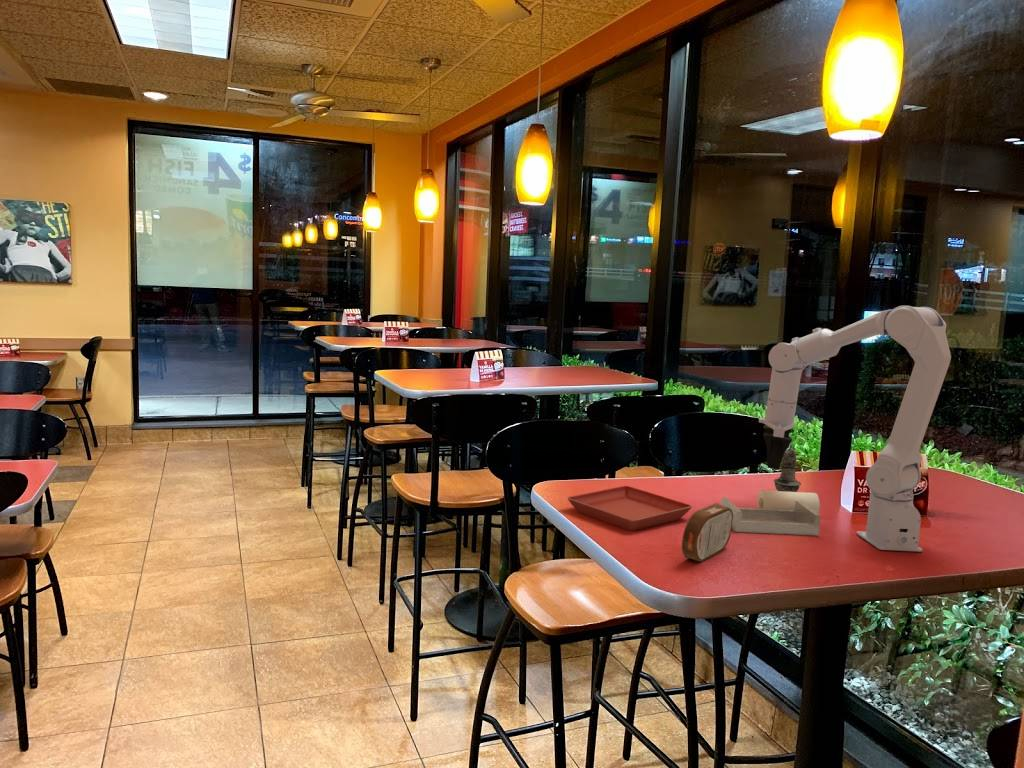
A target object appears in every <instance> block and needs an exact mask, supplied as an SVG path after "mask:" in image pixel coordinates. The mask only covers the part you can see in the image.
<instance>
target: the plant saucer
mask: <svg viewBox="0 0 1024 768" xmlns="http://www.w3.org/2000/svg"><path fill="white" fill-rule="evenodd" d="M567 500H568V502H569V503H570V504H571V506H573V508H574V509H575V510H576V511H577V512H578V513H580V512H581V514H583V515H587V516H588V515H589V516H588V517H591V516H592V517H591V518H594V517H595V519H597V518H598V520H600V521H602V520H603V521H602V522H605V521H606V523H608V522H609V523H608V524H611V523H612V524H611V525H613V524H614V526H616V525H617V526H616V527H619V526H620V527H619V528H622V527H623V528H622V529H624V528H625V530H627V529H628V530H627V531H631V530H634V531H637V529H638V530H641V529H646V528H649V527H654V526H657V525H661V524H667V523H669V522H674V520H675V521H677V520H680V519H681V518H682V517H684V516H685V515H687V514H688V512H690V510H691V509H692V508H693V505H692V504H689V503H685V502H682V501H678V500H676V499H672V498H669V497H666V496H663V495H660V494H656V493H653V492H649V491H647V490H643V489H640V488H636V487H633V486H630V485H622V486H618V487H617V486H616V487H612V488H608V489H607V488H606V489H602V490H596V491H593V492H587V493H581V494H576V495H572V496H568V497H567Z"/></svg>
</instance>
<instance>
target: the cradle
mask: <svg viewBox="0 0 1024 768" xmlns="http://www.w3.org/2000/svg"><path fill="white" fill-rule="evenodd" d="M720 505H722V506H726V507H728V508H730V509H731V510H732V512H733V521H732V528H731V530H733V532H734V533H749V534H750V533H752V534H753V533H755V534H770V535H771V534H774V535H777V534H778V535H797V536H799V535H800V536H814V537H815V536H819V535H820V526H821V514H820V513H817V512H815V511H814V510H813V509H811V508H810V507H808V506H807V505H806V504H804V503H803V502H801V501H795V510H779V509H758V507H757V508H755V507H738V506H736V504H735V503H733V502H732V501H731V500H730V498H728V497H723V496H722V497H721V504H720ZM819 537H820V536H819Z"/></svg>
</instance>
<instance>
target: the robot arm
mask: <svg viewBox="0 0 1024 768" xmlns="http://www.w3.org/2000/svg"><path fill="white" fill-rule="evenodd" d="M946 329H947V323H946V322H945V320H944V319H943V317H942V316H941V315H940V314H939V313H938V311H937V310H935V309H934V308H932V307H928V306H920V307H919V306H911V305H899V306H897V307H894V308H893V309H892V308H891V309H887V310H882V311H879V312H877V313H874V314H872V315H869V316H868V317H866V318H863V319H860V320H858V321H856V322H854V323H852V324H851V323H850V324H848V325H846V326H844V327H842V328H840V329H837V330H835V331H834V330H831V329H829V328H822V327H816V328H814V329H812V333H810V334H807V335H805V336H802V337H798V336H796V337H793V338H792V339H791V341H790V343H788V342H778V343H777V344H776V345H774V346H773V347H772V348H771V349H770V351H769V353H768V363H769V365H770V366H771V375H770V382H769V389H768V396H767V403H766V410H765V416H764V418H763V417H759V418H758V423H761V424H764V425H763V429H764V432H763V439H764V442H765V445H766V464H767V468H768V469H774V470H779V468H780V467H781V464H782V463H783V456H784V453H785V451H786V450H787V449H788V447H790V445H791V444H792V442H793V438H792V437H788V436H789V435H790V433H791V432H792V429H794V428H795V419H796V410H797V403H798V397H799V392H800V391H799V390H800V383H801V378H802V373H803V371H804V370H805V369H806V367H807V366H811V365H813V364H816V363H819V362H821V361H823V360H824V361H825V360H827V359H830V358H832V357H836V356H837V355H838V354H839V351H840V349H841V348H842V347H844V346H847V345H850V344H853V343H857V342H859V341H864V340H867V339H870V338H872V337H875V336H878V335H880V336H889V337H890V338H892V339H893V341H896V342H897V343H898V344H899V345H900V346H902V347H904V348H905V349H906V352H908V354H909V355H910V357H911V358H912V359H913V361H914V366H913V368H912V371H911V375H910V376H909V380H908V382H907V383H908V384H907V385H906V390H905V392H904V395H903V398H902V400H901V403H900V407H899V409H898V412H897V416H896V418H895V421H894V424H893V426H892V430H891V434H890V436H889V438H888V442H887V443H886V444H885V446H884V447H883V448H882V449H881V451H880V452H879V453H878V455H877V458H876V461H875V462H874V463H873V464H872V465H871V466H869V468H868V469H867V471H866V474H865V482H866V485H867V487H868V488H869V490H870V493H869V500H868V502H869V503H868V512H867V519H866V520H867V521H866V527H865V528H866V529H865V531H860V530H859V531H856V535H858V536H859V537H861V538H862V539H864V540H865V541H866V542H868V543H869V544H870V545H872V546H874V547H875V548H876V549H878V550H881V551H900V552H919V553H920V552H923V548H922V547H920V546H919V541H920V533H921V532H920V531H921V523H922V517H921V514H920V511H919V510H918V509H917V507H915V505H914V491H913V490H914V489H915V488H916V487H918V485H919V484H920V482H921V478H922V474H921V463H922V459H923V457H922V455H921V453H920V448H921V446H922V443H923V440H924V437H925V435H926V432H927V430H928V427H929V426H928V425H929V423H930V421H931V417H932V415H933V412H934V409H935V406H936V402H937V400H938V397H939V395H940V392H941V389H942V386H943V383H944V381H945V378H946V376H947V375H946V374H947V372H948V370H949V366H950V363H951V359H952V354H951V350H950V347H949V341H948V337H947V334H946V333H947V332H946V331H947V330H946Z"/></svg>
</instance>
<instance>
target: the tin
mask: <svg viewBox="0 0 1024 768" xmlns="http://www.w3.org/2000/svg"><path fill="white" fill-rule="evenodd" d="M732 521H733V512H732V510H731V509H730V508H728V507H726V506H722V505H721V504H720V503H713V504H710V505H708V506H705V507H702V508H700V509H697V510H695V511H694V512H693V513H692V514H691V515H690V517H689V519H688V521H687V523H686V525H685V527H684V531H683V535H682V540H681V550H682V551H681V552H682V554H683V557H684V558H686V559H690V560H692V561H696V562H699V563H700V562H704V561H706V560H708V559H709V558H711V557H712V558H713V556H715V555H717V554H719V553H721V552H723V551H724V549H725V548H726V546H727V545H728V543H729V541H730V539H731V535H732V534H731V532H732Z"/></svg>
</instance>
